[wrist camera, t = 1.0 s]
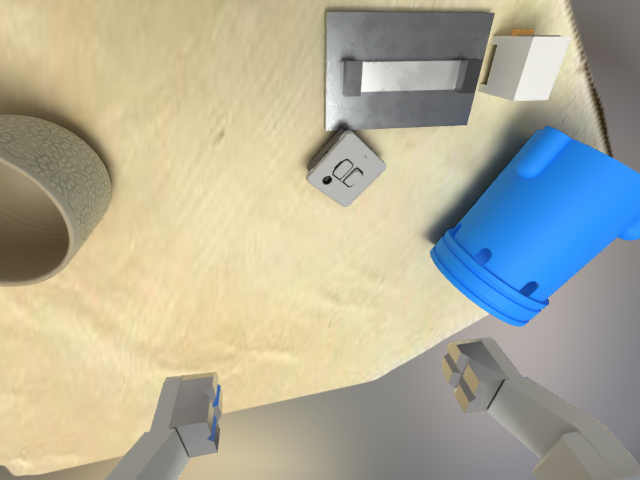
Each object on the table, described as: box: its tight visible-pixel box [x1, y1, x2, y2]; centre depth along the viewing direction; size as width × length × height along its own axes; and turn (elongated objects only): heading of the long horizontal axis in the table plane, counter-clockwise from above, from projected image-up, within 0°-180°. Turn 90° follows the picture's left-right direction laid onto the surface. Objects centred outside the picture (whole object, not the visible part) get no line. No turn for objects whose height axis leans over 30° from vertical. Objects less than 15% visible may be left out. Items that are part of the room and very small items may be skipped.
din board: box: [324, 12, 495, 131], centre depth 43 cm, size 14×22×4 cm, turn 90°
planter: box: [0, 115, 111, 287], centre depth 38 cm, size 17×17×15 cm
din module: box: [478, 29, 571, 101], centre depth 42 cm, size 8×5×8 cm, turn 0°
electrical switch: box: [306, 128, 386, 207], centre depth 48 cm, size 9×5×9 cm
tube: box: [430, 126, 640, 327], centre depth 51 cm, size 25×22×19 cm
